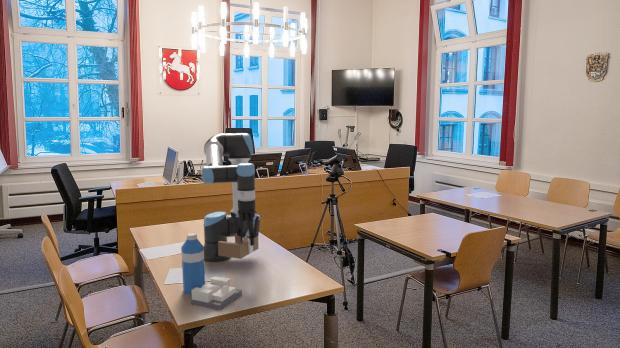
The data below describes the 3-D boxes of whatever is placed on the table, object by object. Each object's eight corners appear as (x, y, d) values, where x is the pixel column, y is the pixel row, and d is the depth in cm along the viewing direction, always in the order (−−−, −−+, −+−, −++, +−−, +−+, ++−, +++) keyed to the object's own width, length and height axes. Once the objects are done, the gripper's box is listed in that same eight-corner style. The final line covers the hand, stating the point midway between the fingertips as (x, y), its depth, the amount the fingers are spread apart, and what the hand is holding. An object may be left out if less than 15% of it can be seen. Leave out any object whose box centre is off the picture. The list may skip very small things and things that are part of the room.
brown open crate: (218, 255, 198) (217, 242, 197) (237, 245, 212) (237, 233, 211) (240, 258, 194) (240, 245, 193) (258, 248, 207) (258, 235, 206)
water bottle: (185, 286, 203) (182, 231, 199) (206, 285, 204) (204, 231, 200) (181, 295, 194) (178, 237, 190) (203, 294, 195) (201, 237, 191)
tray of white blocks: (191, 312, 186) (190, 289, 184) (214, 296, 200) (213, 276, 199) (220, 318, 180) (219, 295, 179) (242, 302, 195) (241, 280, 193)
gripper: (226, 199, 197) (228, 252, 201) (257, 202, 191) (258, 256, 195) (236, 196, 203) (237, 247, 207) (266, 199, 197) (267, 251, 201)
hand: (247, 251), depth 201 cm, fingers closed on brown open crate, 2 cm apart
